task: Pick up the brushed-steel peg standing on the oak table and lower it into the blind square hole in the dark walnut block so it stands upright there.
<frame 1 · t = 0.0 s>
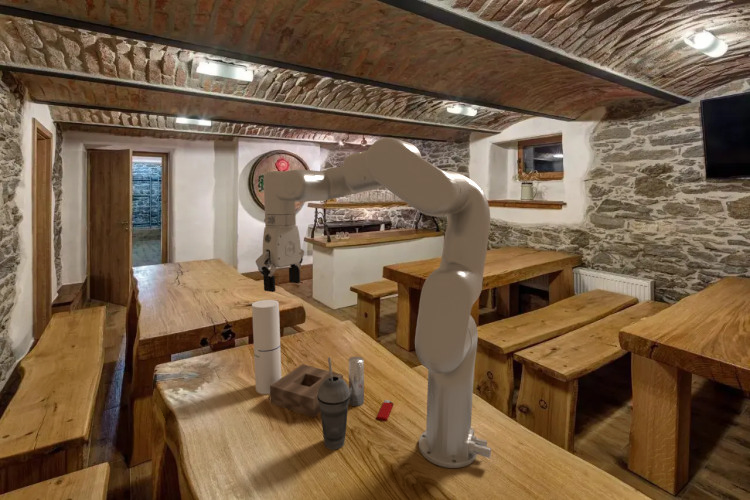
hand: (282, 286, 99), 31 cm above the table, tool pointing down, fingers open, 9 cm apart
lighter: (385, 413, 98), on the table
beverage cup: (334, 443, 85), on the table
cylindrical container: (268, 388, 109), on the table
walnut socket block: (307, 397, 104), on the table
steel peg: (356, 401, 102), on the table
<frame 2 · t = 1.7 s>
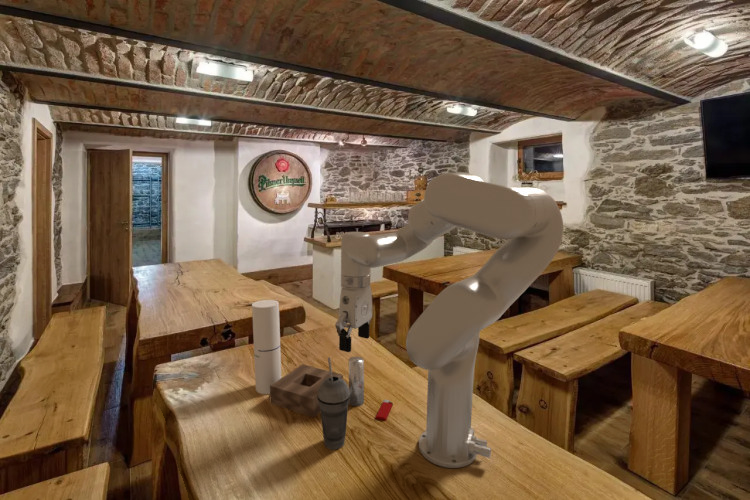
hand: (354, 343, 99), 16 cm above the table, tool pointing down, fingers open, 9 cm apart
nothing on the table moved.
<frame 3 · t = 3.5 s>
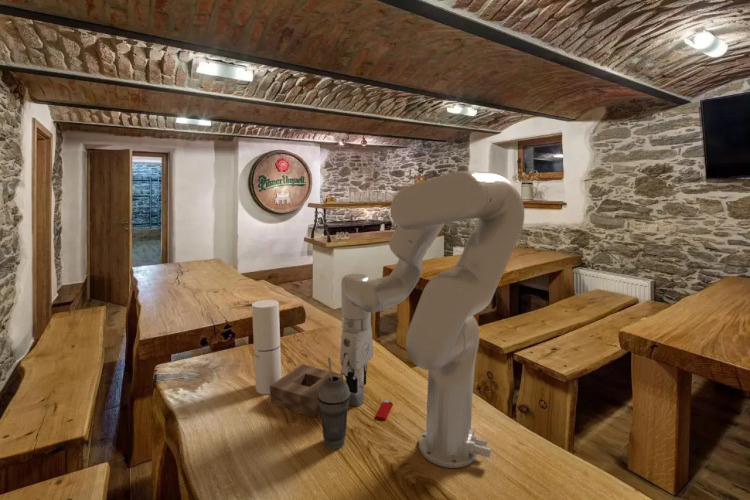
hand: (356, 386, 101), 4 cm above the table, tool pointing down, fingers closed on steel peg, 4 cm apart
steel peg: (356, 401, 102), on the table, touching gripper
everything else where it was.
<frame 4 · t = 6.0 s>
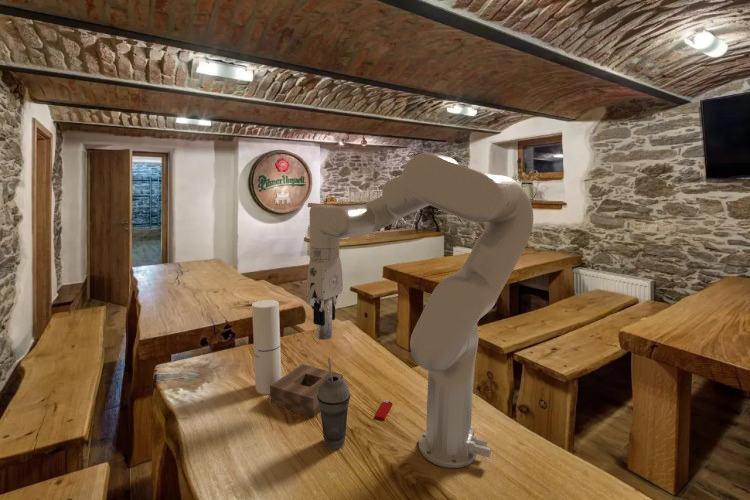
hand: (324, 321, 100), 22 cm above the table, tool pointing down, fingers closed on steel peg, 4 cm apart
steel peg: (324, 336, 101), point 18 cm above the table, touching gripper
everything else where it was.
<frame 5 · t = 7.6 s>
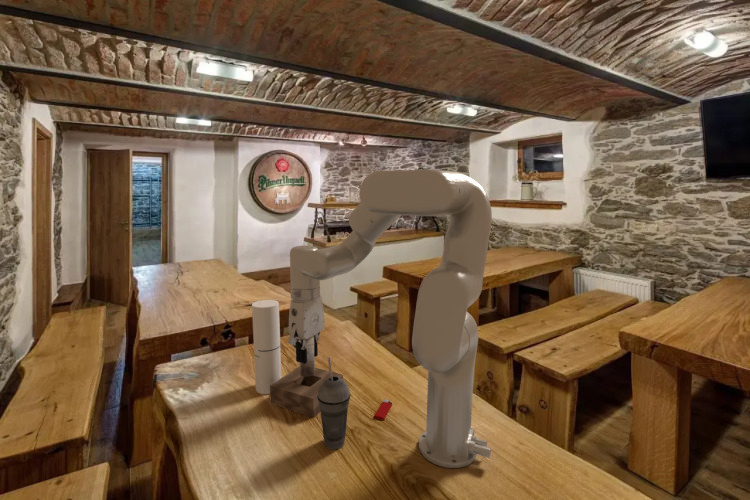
hand: (307, 358, 102), 11 cm above the table, tool pointing down, fingers closed on steel peg, 4 cm apart
steel peg: (307, 373, 103), point 7 cm above the table, touching gripper
everything else where it was.
when the fingers open (7 cm above the table, at t = 8.9 s): steel peg stays where it is, resting on walnut socket block.
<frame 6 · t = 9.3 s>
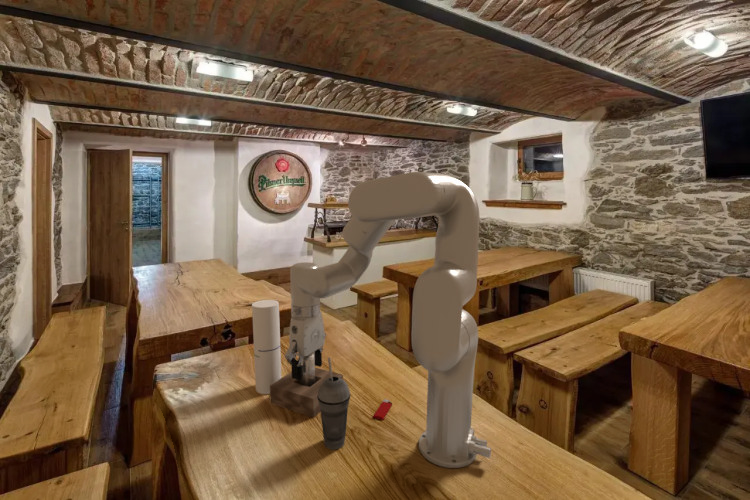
hand: (307, 371, 103), 7 cm above the table, tool pointing down, fingers open, 8 cm apart
steel peg: (307, 391, 104), point 2 cm above the table, touching walnut socket block
everything else where it was.
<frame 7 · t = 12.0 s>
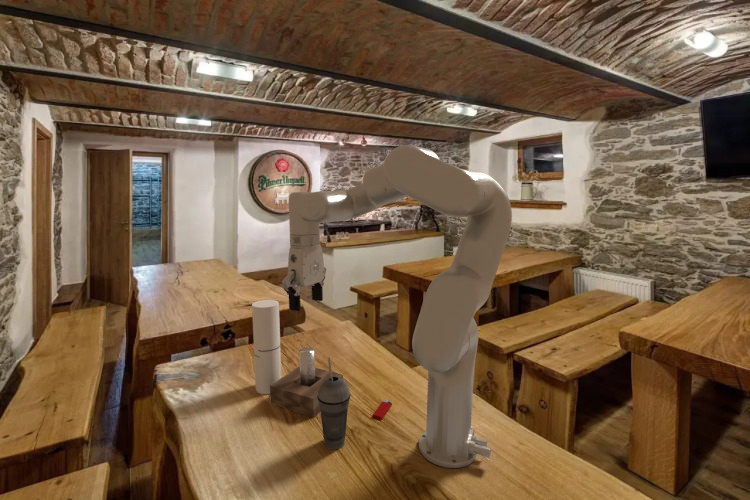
hand: (306, 305, 100), 26 cm above the table, tool pointing down, fingers open, 9 cm apart
nothing on the table moved.
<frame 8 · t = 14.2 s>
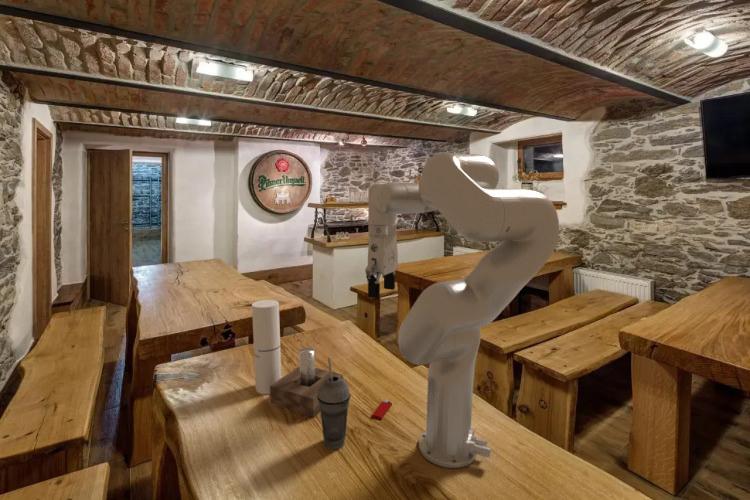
hand: (381, 293, 104), 28 cm above the table, tool pointing down, fingers open, 9 cm apart
nothing on the table moved.
at the end: steel peg 0.0 cm off-centre on the walnut socket block, point 1.5 cm above the walnut socket block's base; steel peg tilted 0°; the gripper is holding nothing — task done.
